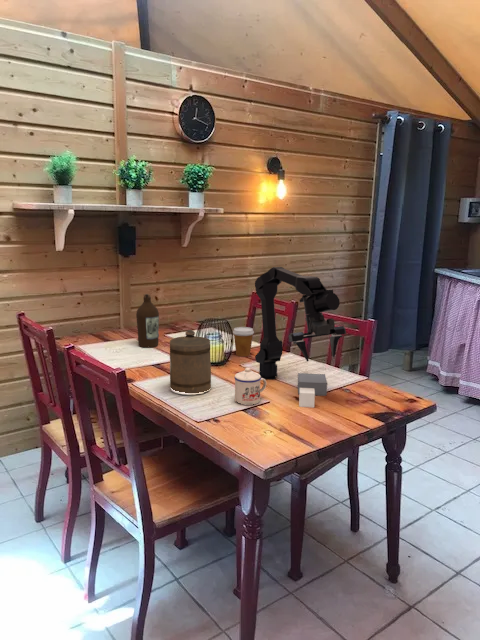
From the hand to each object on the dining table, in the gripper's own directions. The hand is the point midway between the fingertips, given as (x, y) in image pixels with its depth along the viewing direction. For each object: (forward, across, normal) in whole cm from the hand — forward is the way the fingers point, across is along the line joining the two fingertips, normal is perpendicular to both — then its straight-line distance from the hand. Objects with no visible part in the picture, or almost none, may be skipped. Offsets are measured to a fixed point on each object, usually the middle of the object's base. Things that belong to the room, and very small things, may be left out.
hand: (320, 359), depth 168 cm
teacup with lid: (+11, -25, +7) cm, 28 cm away
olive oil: (-13, -61, +80) cm, 101 cm away
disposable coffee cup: (-3, -18, +60) cm, 63 cm away
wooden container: (+5, -45, +20) cm, 49 cm away
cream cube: (+14, -7, +1) cm, 16 cm away
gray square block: (+12, -1, +14) cm, 18 cm away
